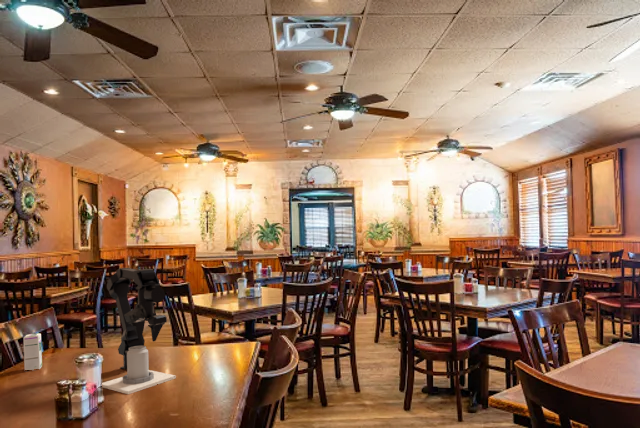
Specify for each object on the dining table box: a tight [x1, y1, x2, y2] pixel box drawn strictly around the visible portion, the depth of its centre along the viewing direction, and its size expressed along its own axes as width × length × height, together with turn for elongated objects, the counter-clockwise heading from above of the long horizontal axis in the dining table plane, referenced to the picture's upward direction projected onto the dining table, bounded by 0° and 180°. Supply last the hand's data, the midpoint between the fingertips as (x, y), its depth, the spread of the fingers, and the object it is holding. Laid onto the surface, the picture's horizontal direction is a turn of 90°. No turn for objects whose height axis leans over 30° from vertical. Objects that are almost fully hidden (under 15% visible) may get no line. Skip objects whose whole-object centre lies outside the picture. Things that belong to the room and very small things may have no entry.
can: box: [126, 345, 150, 379], centre depth 177 cm, size 8×8×12 cm
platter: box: [101, 369, 177, 395], centre depth 177 cm, size 18×20×2 cm
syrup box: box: [23, 332, 43, 371], centre depth 203 cm, size 6×6×14 cm
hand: (146, 340), depth 188 cm, fingers open, 9 cm apart
